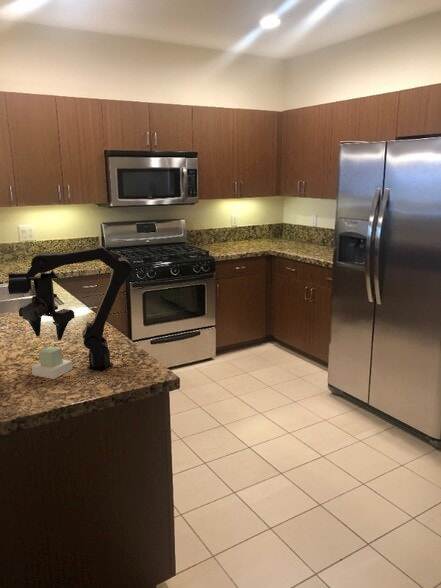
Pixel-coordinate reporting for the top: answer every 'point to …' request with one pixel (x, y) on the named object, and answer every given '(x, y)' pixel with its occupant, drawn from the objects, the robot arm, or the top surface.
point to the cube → (51, 356)
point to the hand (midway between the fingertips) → (48, 338)
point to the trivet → (52, 369)
